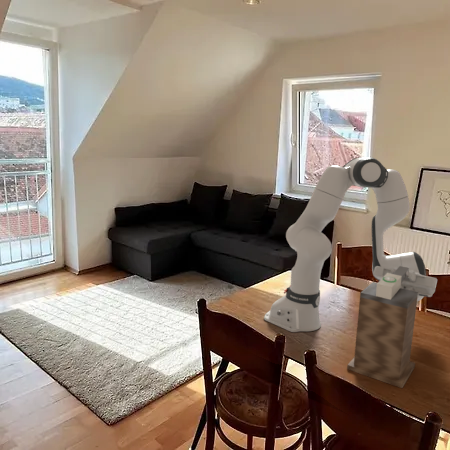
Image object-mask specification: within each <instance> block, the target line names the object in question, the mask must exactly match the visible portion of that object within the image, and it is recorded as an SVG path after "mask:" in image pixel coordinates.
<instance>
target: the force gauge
mask: <svg viewBox="0 0 450 450" xmlns="http://www.w3.org/2000/svg"><path fill="white" fill-rule="evenodd" d="M406 271H407V272H409V268H407V267H402V266H399V267H398V269H397V270H396V271H395V272H394V273H393V274H390V273H387V274H386V275H385V276H384V277H383V278H382V279H381V280H380V281H379V280H378V281H377V282H376V283H377V289H376V296H378V297H382V298H386V299H390V300H391V299H392V298H393V296H394V295H395V294H396V293H397V291H398V290H399V289H400V287H401V283H402V282H403V281H404V279H405V278H406V277H405V274H406Z"/></svg>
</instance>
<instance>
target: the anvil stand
mask: <svg viewBox="0 0 450 450" xmlns="http://www.w3.org/2000/svg"><path fill="white" fill-rule="evenodd" d="M377 283H378V282H376V281H375V282H374V281H372V282H371V283H370V284H369V285H368V286H366V287H365V288H364V289H363V290H361V292H360V295H359V303H358V306H359V307H358V314H357V324H356V325H357V326H356V337H355V347H354V357H353V358H352V359H351V360H350V361H349V363H348V364H347V367H346V369H347V370H349V371H352V372H354V373H357V374H360V375H363V376H366V377H369V378H371V379H375V380H378V381H380V382H383V383H386V384H388V385H389V384H390V385H391V386H395V387H398V388H401V389H403V388H404V386H405V385H406V382H407V381H408V379H409V378H410V377H411V374H412V372H413V371H414V369H415V368H416V362H414V361H411V352H412V344H413V336H414V335H413V334H414V329H415V321H416V312H417V306H418V305H417V303H418V301H417V297H418V292H416V291H411V290H407V289H402V288H400V289H399V290H398V291H397V293H396V294H395V295H394V296H393V298H392V299H391V300H390V299H386V298H382V297H378V296H376V289H377Z"/></svg>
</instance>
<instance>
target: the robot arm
mask: <svg viewBox="0 0 450 450" xmlns="http://www.w3.org/2000/svg"><path fill="white" fill-rule="evenodd" d="M351 187H358V188H370V189H371V190H373V193H374V194H375V200H376V205H377V211H376V213H375V215H374V216H373V217H372V219H371V247H372V249H371V250H372V264H371V265H372V267H371V269H372V270H371V271H372V275H373V277H374V278H375V279H376V280H378V282H379V281H380V280H381V279H382V278H383V277H384V276H385V275H386V274H387V273H390V274H393V273H394V272H395V271H396V270H397V269H398V267H399V266H402V267H407V268H409V272H407V271H406V274H405V277H406V278H405V279H404V281H403V282H402V283H401V287H400V288H402V289H407V290H411V291H416V292H418V297H417V302H420V301H421V300H422V299H423V298H424V297H427V298H431V297H433V294H434V293H435V292H436V287H437V283H438V279H437V277H432V276H428V275H427V269H426V265H425V262H424V260H423V258H422V256H421V255H420V254H418V253H417V252H415V251H410V252H409V251H408V252H402V253H397V254H391V255H387V254H385V252H384V249H385V248H384V235H385V232H386V231H388V229H390V228H392V227H393V226H395V225H397V224H399V223H400V222H401V221H403V220H405V218H406V217H407V216H408V214H409V213H410V209H411V207H410V198H409V194H408V190H407V187H406V184H405V181H404V179H403V177H402V175H401V173H400V172H399V171H398V170H396V169H392V168H391V169H390V168H389V169H387V168H386V167H385V166H384V165H383V164H382V163H381V161H379V160H378V159H377V158H374V157H371V156H359V157H357V158H352V159H351V160H349V161H347V163H345V164H344V165H337V164H336V165H335V164H334V165H329V166H327V167H326V169H324V171H323V172H322V175H321V176H320V178H319V180H318V181H317V183H316V185H315V188H314V190H313V192H312V195H311V197H310V199H309V200H308V203H307V205H306V207H305V209H304V210H303V212H301V213H302V214H300V216H299V217H298V219H297V220H296V222H295V223H293V224H292V225H290V226H289V227H288V229H287V230H286V232H285V238H286V241H287V243H288V244H289V247H290V248H291V249H292V250H294V251H295V252H296V254H297V255H296V256H297V257H296V260H295V264H294V266H293V267H292V268H291V270H290V272H291V273H290V285H289V287H286V288H285V289H284V290H283V291H284V292H283V293H284V294H285V295H284V296H282V297H280V298H278V299H277V300H276V301H274V302H273V303H272V304H271V307H270V310H269V311H267V312H266V313H265V314H264V317H263V319H264V321H266V322H269V324H272V325H275V326H277V327H278V328H282V329H284V330H286V331H288V332H291V333H298V332H312V331H317V330H318V329H320V328H321V327H322V323H321V319H320V311H319V309H320V308H319V306H320V301H321V290H320V284H321V283H320V282H321V273H322V269H323V267H324V263H325V261H326V260H327V259H328V258H329V257H330V256H331V254H332V251H333V245H332V242H331V240H330V239H329V238H328V237H327V236H326V234H324V233H323V232H322V231H323V230H324V229H325V227H327V225H328V224H329V223H330V222H332V221H333V220H334V219H335V218H336V216H337V214H338V211H339V209H340V208H341V205H342V202H343V200H344V197H346V193H347V191H348V190H349V189H350V188H351Z"/></svg>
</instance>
